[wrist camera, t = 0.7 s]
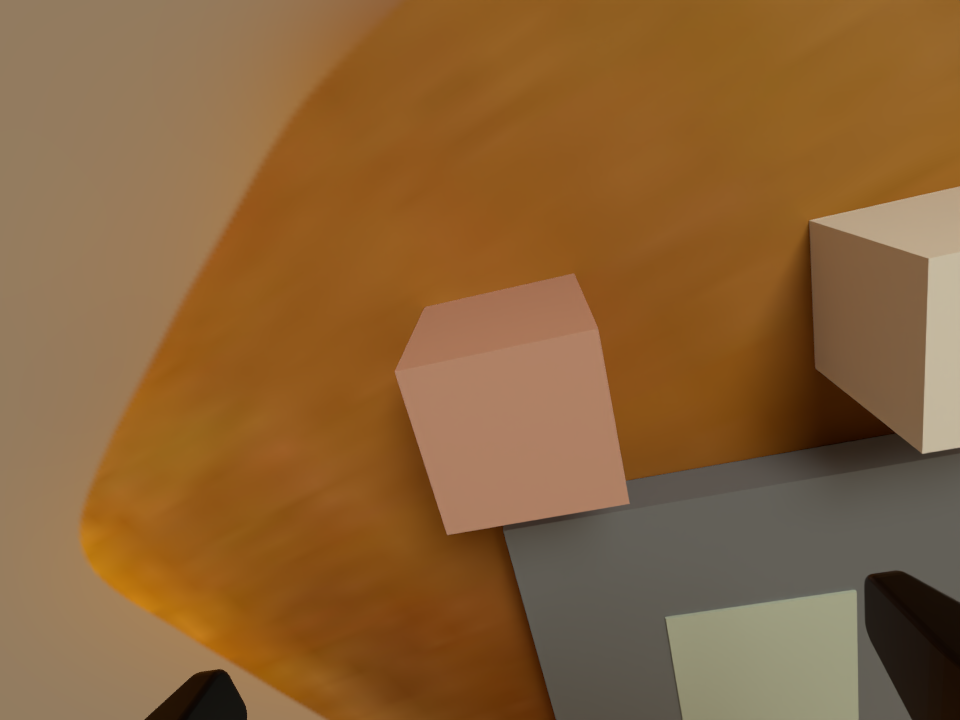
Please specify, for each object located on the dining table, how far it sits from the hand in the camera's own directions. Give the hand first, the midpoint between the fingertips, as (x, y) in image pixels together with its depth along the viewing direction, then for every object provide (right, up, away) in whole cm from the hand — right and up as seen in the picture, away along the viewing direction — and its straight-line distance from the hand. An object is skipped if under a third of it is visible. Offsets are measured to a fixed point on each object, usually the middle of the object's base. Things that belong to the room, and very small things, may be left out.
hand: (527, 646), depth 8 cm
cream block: (+11, +6, +8) cm, 15 cm away
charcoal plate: (+9, -6, +13) cm, 17 cm away
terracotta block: (0, +4, +10) cm, 11 cm away
